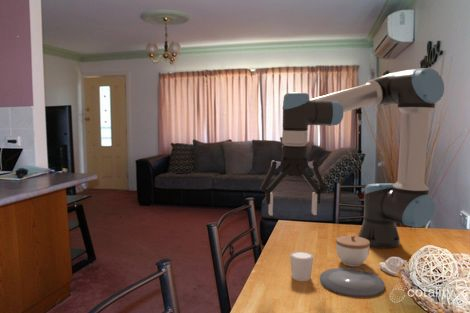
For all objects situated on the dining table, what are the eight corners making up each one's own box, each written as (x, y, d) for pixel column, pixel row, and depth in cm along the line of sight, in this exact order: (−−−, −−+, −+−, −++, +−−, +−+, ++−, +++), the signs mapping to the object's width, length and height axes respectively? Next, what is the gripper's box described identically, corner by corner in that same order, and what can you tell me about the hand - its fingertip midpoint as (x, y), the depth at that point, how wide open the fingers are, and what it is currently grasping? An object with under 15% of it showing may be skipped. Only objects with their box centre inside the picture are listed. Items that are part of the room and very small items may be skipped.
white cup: (312, 283, 115) (313, 259, 115) (288, 280, 117) (289, 257, 116) (312, 273, 122) (313, 251, 121) (290, 272, 123) (290, 250, 123)
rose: (414, 255, 127) (414, 265, 118) (413, 268, 128) (413, 279, 119) (380, 250, 131) (378, 260, 122) (380, 263, 132) (377, 274, 123)
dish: (371, 271, 125) (371, 267, 124) (394, 296, 107) (395, 293, 107) (314, 270, 124) (314, 267, 124) (328, 296, 106) (328, 292, 106)
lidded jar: (364, 271, 124) (365, 242, 123) (330, 264, 130) (331, 236, 129) (372, 261, 133) (373, 234, 132) (340, 255, 139) (341, 229, 138)
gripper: (330, 144, 124) (327, 211, 126) (251, 143, 121) (250, 211, 123) (339, 146, 117) (336, 216, 119) (255, 145, 114) (253, 217, 116)
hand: (292, 214), depth 121 cm, fingers open, 13 cm apart
